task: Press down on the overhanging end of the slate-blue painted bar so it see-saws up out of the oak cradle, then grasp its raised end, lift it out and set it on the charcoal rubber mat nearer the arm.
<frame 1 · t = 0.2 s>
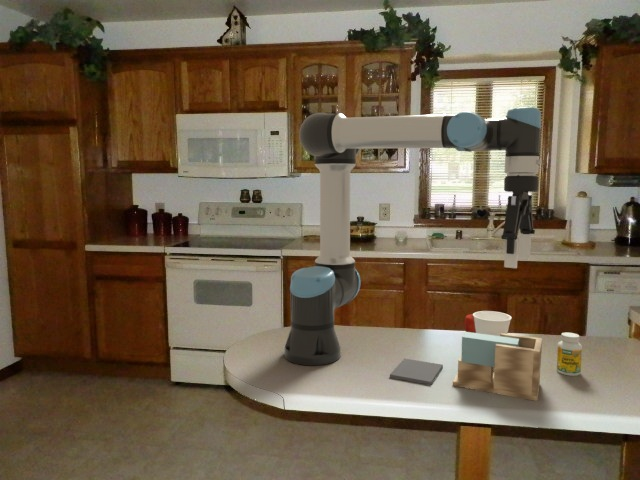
hand: (517, 263, 121), 27 cm above the counter, fingers open, 13 cm apart
bar: (489, 362, 116), point 5 cm above the counter, touching cradle
mat: (416, 372, 123), on the counter
apple: (474, 340, 149), on the counter
supplement bottle: (568, 373, 124), on the counter
cradle: (496, 384, 116), on the counter
cup: (490, 355, 135), on the counter
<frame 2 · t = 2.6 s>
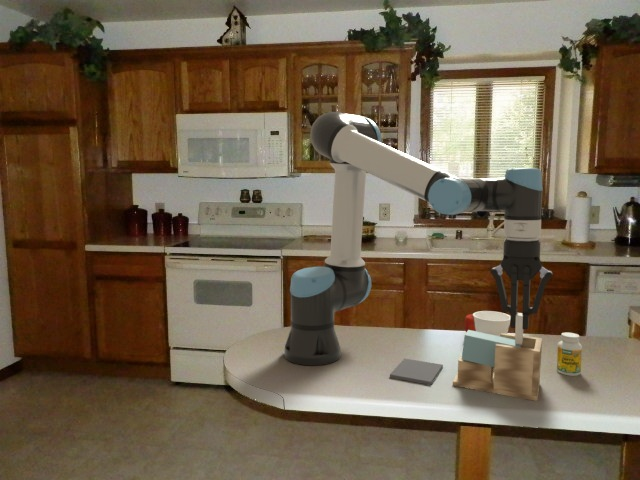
hand: (518, 342, 113), 11 cm above the counter, fingers closed
bar: (489, 362, 116), point 5 cm above the counter, tilted 5°, touching cradle, gripper
everything else where it was.
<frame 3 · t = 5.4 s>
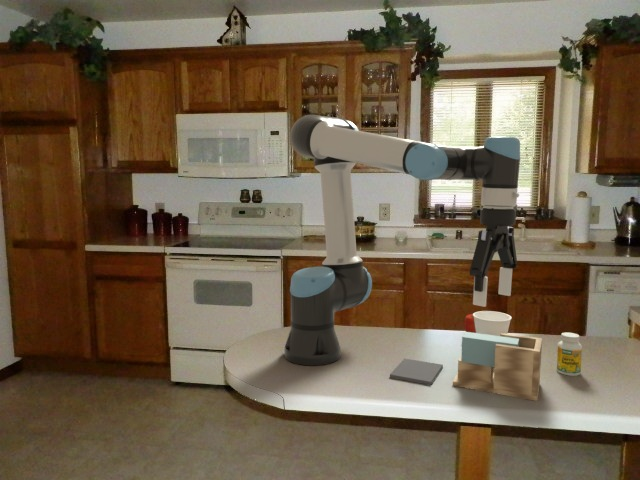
hand: (492, 300, 114), 20 cm above the counter, fingers open, 13 cm apart
bar: (489, 362, 116), point 5 cm above the counter, touching cradle
everything else where it was.
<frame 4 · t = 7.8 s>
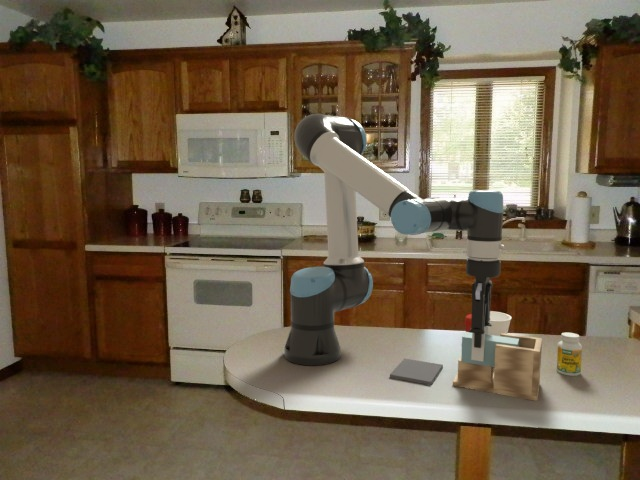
hand: (479, 356, 117), 6 cm above the counter, fingers closed on bar, 4 cm apart
bar: (489, 362, 116), point 5 cm above the counter, touching cradle, gripper
everything else where it was.
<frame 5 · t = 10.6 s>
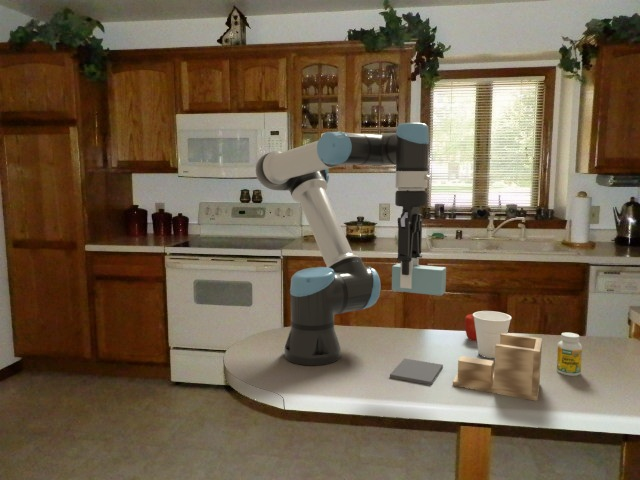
hand: (409, 285, 122), 22 cm above the counter, fingers closed on bar, 4 cm apart
bar: (418, 291, 121), point 20 cm above the counter, touching gripper
everything else where it was.
when the fingers open (7 cm above the counter, at t = 13.4 s): bar drops 5 cm, resting on mat.
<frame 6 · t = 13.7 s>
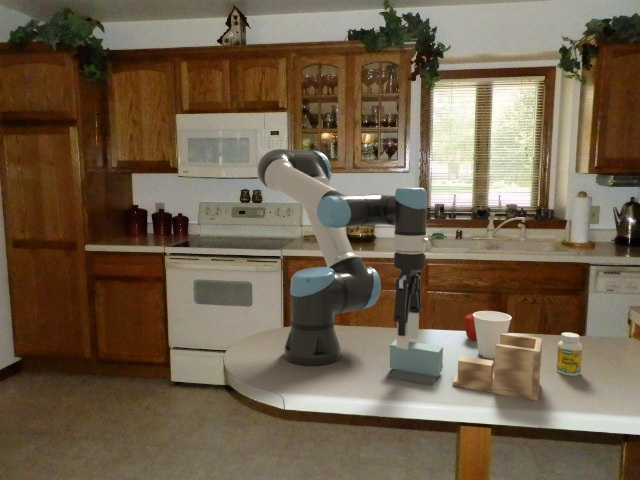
hand: (407, 342, 123), 7 cm above the counter, fingers open, 8 cm apart
bar: (415, 369, 123), point 1 cm above the counter, touching mat
everything else where it was.
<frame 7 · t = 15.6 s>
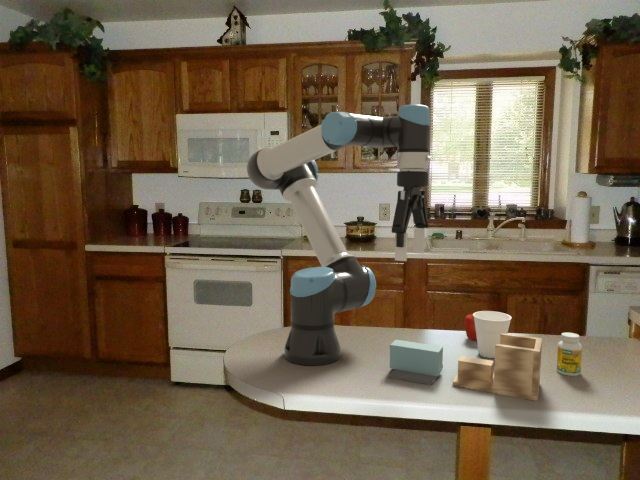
hand: (410, 256, 124), 28 cm above the counter, fingers open, 13 cm apart
nothing on the counter moved.
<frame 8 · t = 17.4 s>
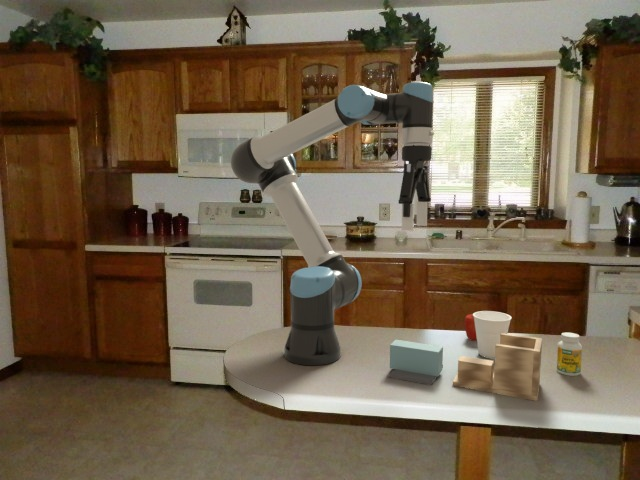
hand: (414, 227, 131), 35 cm above the counter, fingers open, 13 cm apart
nothing on the counter moved.
at the end: bar inside the target area on the mat (0.2 cm from its centre), point 0.8 cm above the mat's base; the gripper is holding nothing; bar touching mat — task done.
